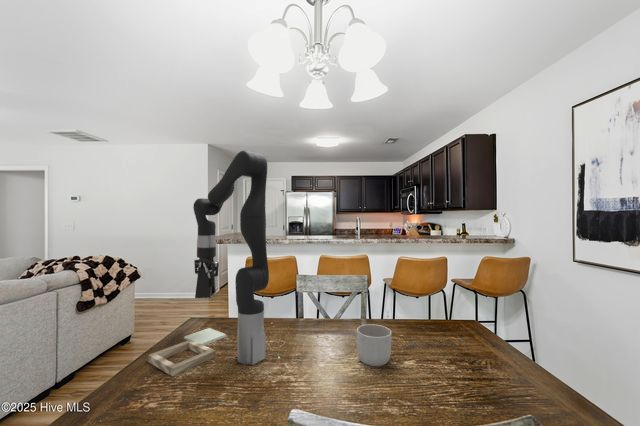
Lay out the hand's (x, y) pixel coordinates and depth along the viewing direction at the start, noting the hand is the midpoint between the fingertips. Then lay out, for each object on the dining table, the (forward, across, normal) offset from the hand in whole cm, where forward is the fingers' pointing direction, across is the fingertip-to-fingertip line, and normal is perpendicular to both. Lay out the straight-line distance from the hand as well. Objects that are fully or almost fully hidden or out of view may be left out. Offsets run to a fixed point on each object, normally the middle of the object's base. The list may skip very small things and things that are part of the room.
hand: (206, 285), depth 126 cm
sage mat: (+22, 0, 0) cm, 22 cm away
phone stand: (+4, 0, 0) cm, 4 cm away
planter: (+22, -66, -24) cm, 74 cm away
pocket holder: (+22, -10, +16) cm, 29 cm away
